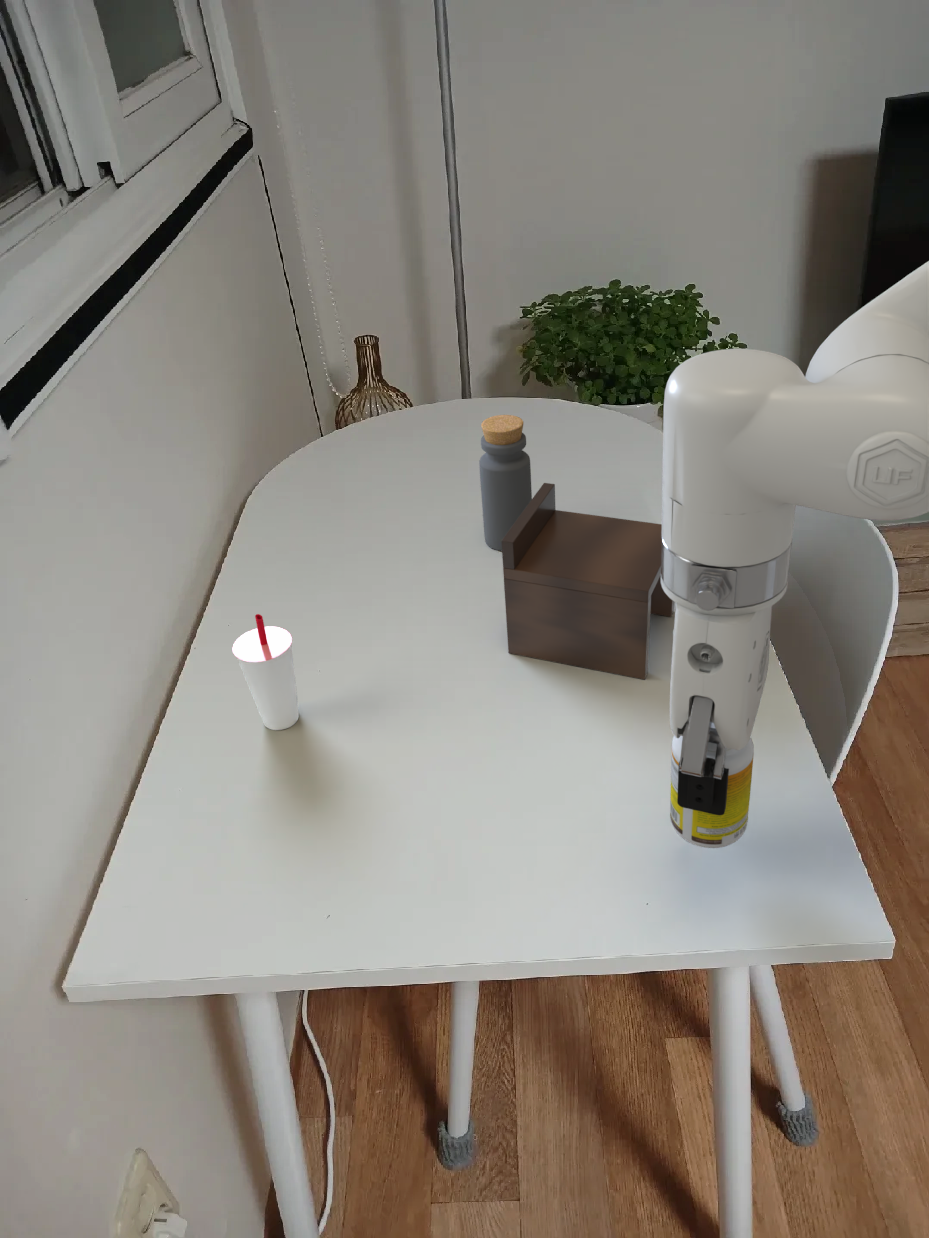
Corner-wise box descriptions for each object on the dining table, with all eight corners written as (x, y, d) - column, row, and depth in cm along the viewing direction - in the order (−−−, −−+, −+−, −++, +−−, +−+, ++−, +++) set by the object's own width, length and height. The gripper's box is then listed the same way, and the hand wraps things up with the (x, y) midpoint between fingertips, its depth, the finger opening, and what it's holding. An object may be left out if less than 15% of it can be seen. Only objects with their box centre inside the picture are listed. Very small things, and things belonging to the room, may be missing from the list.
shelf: (673, 610, 100) (680, 499, 92) (644, 679, 91) (649, 563, 83) (547, 589, 105) (543, 482, 97) (508, 653, 96) (501, 540, 89)
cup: (320, 716, 90) (297, 613, 83) (273, 745, 88) (245, 641, 81) (288, 692, 94) (264, 591, 87) (242, 719, 91) (213, 617, 84)
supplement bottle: (762, 823, 70) (774, 718, 64) (713, 864, 67) (721, 759, 62) (702, 784, 74) (708, 682, 68) (653, 822, 71) (655, 719, 65)
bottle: (487, 554, 112) (478, 436, 103) (482, 529, 117) (474, 415, 108) (536, 549, 112) (532, 430, 103) (529, 524, 117) (525, 409, 108)
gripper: (765, 654, 50) (743, 882, 60) (807, 500, 62) (783, 710, 73) (625, 632, 53) (626, 853, 63) (692, 489, 65) (685, 693, 76)
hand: (710, 774), depth 68 cm, fingers closed on supplement bottle, 5 cm apart
